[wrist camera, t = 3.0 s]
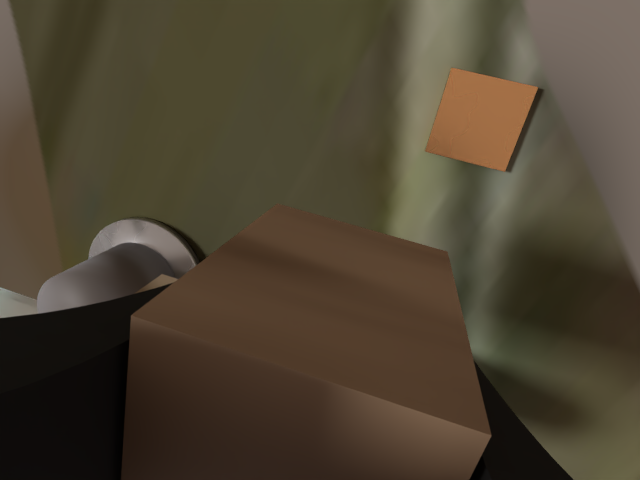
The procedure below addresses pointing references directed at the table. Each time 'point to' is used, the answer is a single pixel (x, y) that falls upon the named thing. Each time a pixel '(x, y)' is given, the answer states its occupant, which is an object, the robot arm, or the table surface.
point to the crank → (106, 278)
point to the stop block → (305, 362)
